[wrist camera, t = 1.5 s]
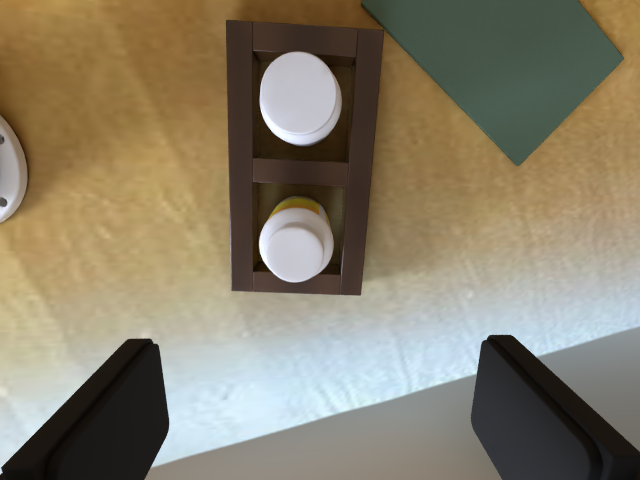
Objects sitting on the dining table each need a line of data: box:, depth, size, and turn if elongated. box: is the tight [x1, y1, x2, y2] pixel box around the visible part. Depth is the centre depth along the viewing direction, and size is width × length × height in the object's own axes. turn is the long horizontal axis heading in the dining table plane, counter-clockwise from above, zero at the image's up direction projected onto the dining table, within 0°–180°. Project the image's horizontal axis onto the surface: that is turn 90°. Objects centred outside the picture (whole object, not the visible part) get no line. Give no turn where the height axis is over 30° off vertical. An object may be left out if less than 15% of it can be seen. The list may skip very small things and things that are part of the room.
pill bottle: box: [260, 52, 342, 147], centre depth 25 cm, size 6×6×10 cm
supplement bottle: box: [259, 195, 334, 282], centre depth 27 cm, size 6×6×10 cm
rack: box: [226, 20, 384, 295], centre depth 29 cm, size 12×22×3 cm, turn 177°
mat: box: [361, 0, 624, 166], centre depth 28 cm, size 20×12×1 cm, turn 49°
